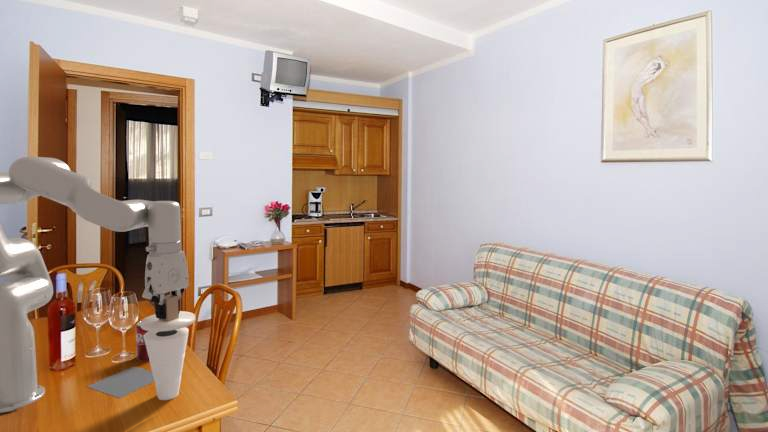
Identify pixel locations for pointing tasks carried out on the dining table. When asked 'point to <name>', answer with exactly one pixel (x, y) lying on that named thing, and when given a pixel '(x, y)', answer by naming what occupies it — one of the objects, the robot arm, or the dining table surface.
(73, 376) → the dining table surface
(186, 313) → the lid
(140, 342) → the soda can
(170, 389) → the cup
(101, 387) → the mat
